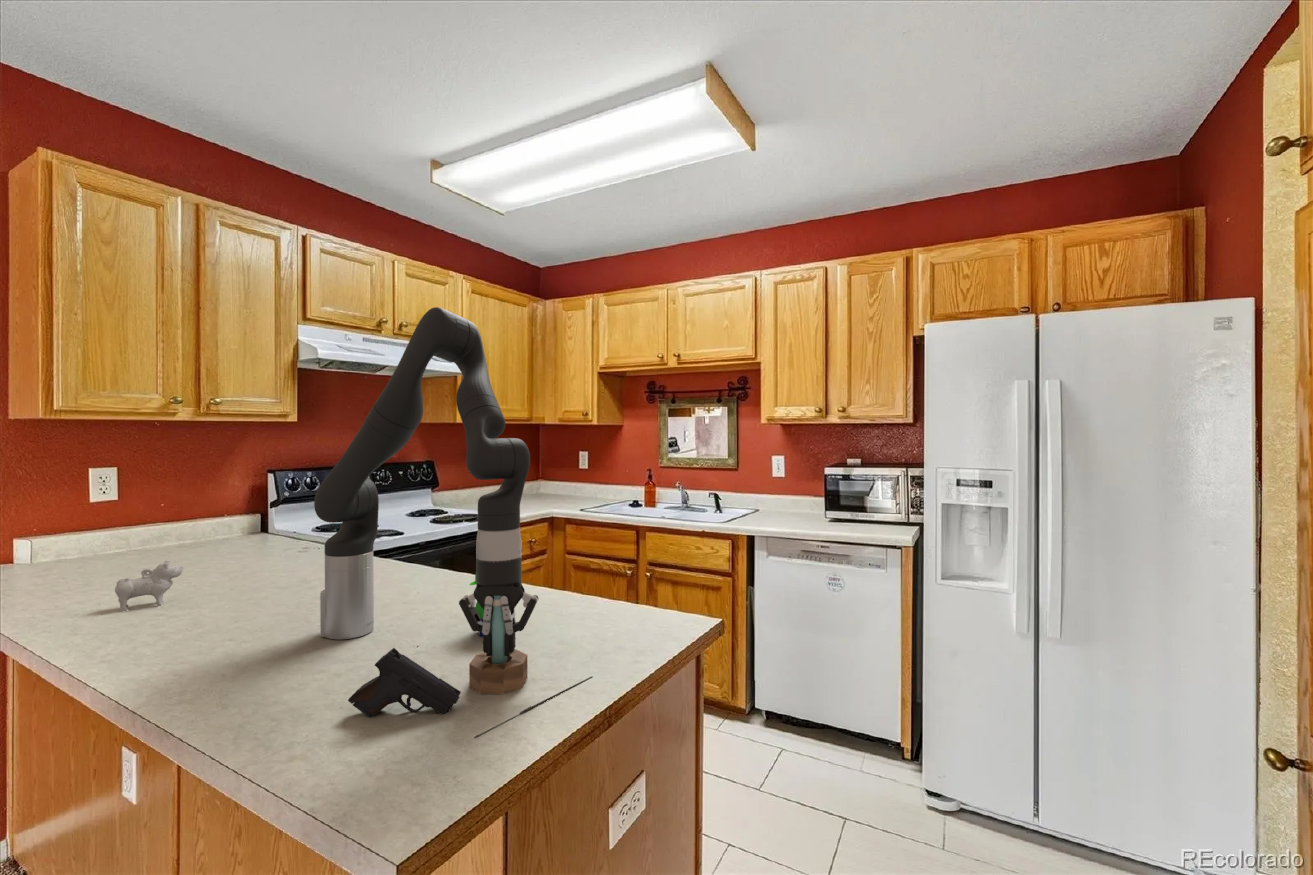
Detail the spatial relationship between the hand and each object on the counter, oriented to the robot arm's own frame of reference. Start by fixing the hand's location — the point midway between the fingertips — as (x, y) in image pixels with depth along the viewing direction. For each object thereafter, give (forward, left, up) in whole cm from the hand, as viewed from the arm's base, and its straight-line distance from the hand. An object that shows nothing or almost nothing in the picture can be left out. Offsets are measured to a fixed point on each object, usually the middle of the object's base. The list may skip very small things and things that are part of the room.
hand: (499, 654), depth 99 cm
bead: (0, 0, -5) cm, 5 cm away
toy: (-8, +25, -5) cm, 27 cm away
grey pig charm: (-97, +45, -5) cm, 107 cm away
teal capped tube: (0, 0, -4) cm, 4 cm away
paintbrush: (+8, -8, -5) cm, 13 cm away
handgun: (-12, -10, -5) cm, 16 cm away
